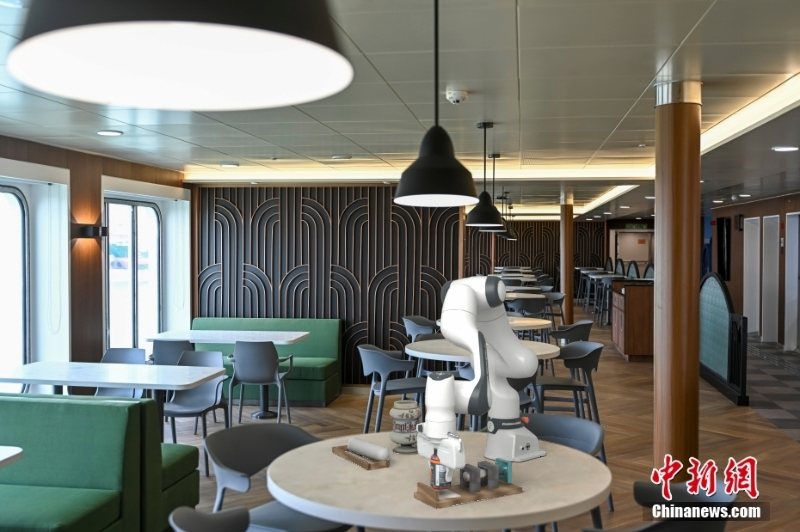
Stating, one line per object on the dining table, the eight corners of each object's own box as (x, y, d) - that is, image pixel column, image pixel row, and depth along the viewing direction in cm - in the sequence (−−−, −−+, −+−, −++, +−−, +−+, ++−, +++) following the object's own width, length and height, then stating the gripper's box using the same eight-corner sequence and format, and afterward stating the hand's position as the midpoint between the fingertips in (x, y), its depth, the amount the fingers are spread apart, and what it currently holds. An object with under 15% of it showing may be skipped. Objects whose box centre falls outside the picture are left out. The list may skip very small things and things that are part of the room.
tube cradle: (352, 449, 270) (352, 444, 270) (388, 467, 245) (388, 461, 245) (332, 452, 266) (332, 447, 266) (367, 470, 241) (367, 464, 241)
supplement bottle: (429, 484, 212) (429, 445, 212) (449, 484, 213) (449, 444, 213) (431, 490, 206) (431, 450, 206) (452, 489, 207) (452, 449, 207)
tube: (390, 465, 246) (357, 453, 268) (394, 449, 247) (361, 438, 269) (377, 461, 244) (345, 450, 266) (381, 445, 245) (349, 435, 267)
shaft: (499, 477, 223) (499, 457, 223) (512, 482, 218) (511, 462, 218) (459, 484, 216) (459, 463, 216) (471, 489, 211) (471, 468, 211)
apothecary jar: (402, 445, 276) (402, 397, 276) (429, 450, 269) (428, 401, 269) (382, 452, 266) (382, 402, 266) (410, 457, 259) (410, 405, 259)
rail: (497, 482, 227) (497, 455, 227) (522, 492, 216) (522, 464, 216) (413, 497, 212) (413, 469, 212) (436, 509, 201) (436, 479, 201)
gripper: (470, 435, 202) (471, 485, 202) (431, 422, 220) (431, 468, 220) (451, 437, 199) (451, 488, 199) (413, 424, 217) (413, 471, 217)
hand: (440, 478), depth 209 cm, fingers closed on supplement bottle, 6 cm apart
